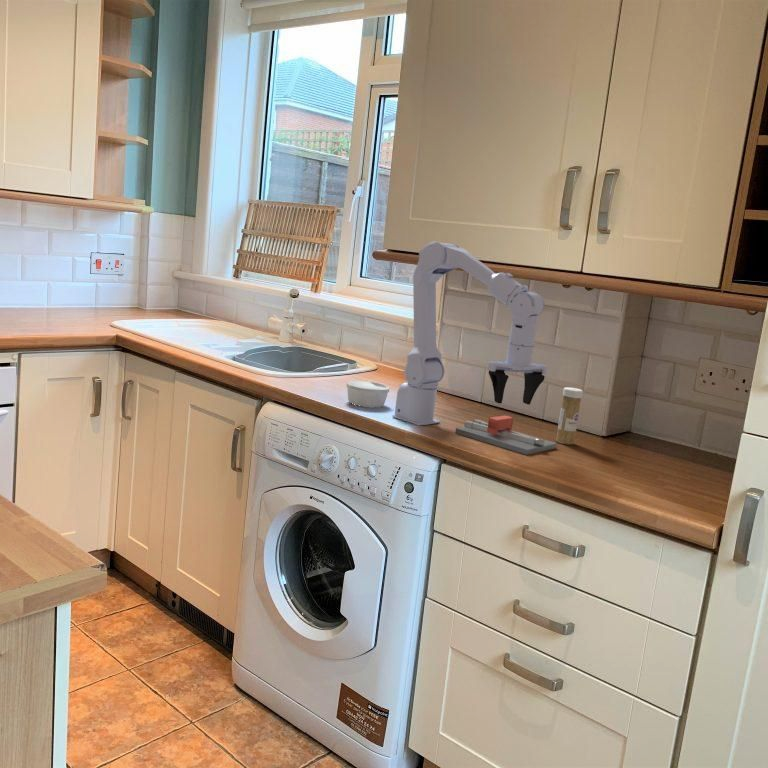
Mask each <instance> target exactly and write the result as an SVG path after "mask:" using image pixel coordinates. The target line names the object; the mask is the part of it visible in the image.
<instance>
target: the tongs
mask: <svg viewBox="0 0 768 768" xmlns="http://www.w3.org/2000/svg"><path fill="white" fill-rule="evenodd" d="M463 424H464V426H463V427H469V428H474V429H478V430H481V431H485V432H487V428H488V422H486V421H484V420H481V419H473V420H472V421H470V420H464V423H463ZM514 431H515V430H513V431H511V430H508V429H500V430H498V433H497V434H496V435H500V436H503V437H507V438H511V439H514V440H518V441H521V442H525V443H529V444H532V445H535V446H539V447H543V446H544V440H545V439H544V438H541V437H537V438H533V437H534V436H533V437H530V436H531V435H530V436H527V435H528V434H526V435H524V434H525V433H523V434H521V433H522V432H520V433H518V432H519V431H516V432H514Z"/></svg>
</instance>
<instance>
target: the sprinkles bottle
mask: <svg viewBox="0 0 768 768" xmlns="http://www.w3.org/2000/svg"><path fill="white" fill-rule="evenodd" d="M583 393H584V391H583V390H582V389H580V388H576V387H572V386H571V387H569V386H567V387H563V391H562V401H561V407H560V412H559V418H558V424H557V433H556V438H555V441H556V443H557V444H558V443H559V444H562V445H574V444H575V439H576V431H577V428H578V421H579V414H580V408H581V407H580V406H581V402H582V401H581V400H582V398H583Z"/></svg>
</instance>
